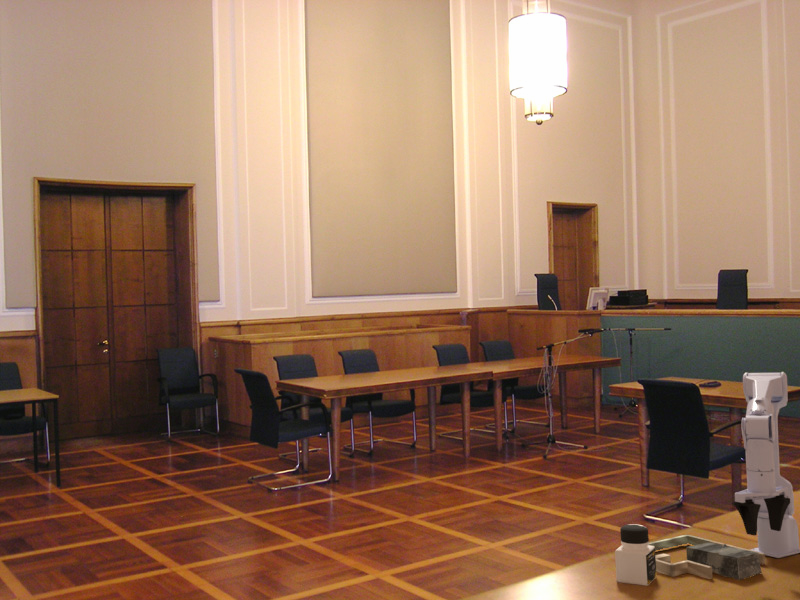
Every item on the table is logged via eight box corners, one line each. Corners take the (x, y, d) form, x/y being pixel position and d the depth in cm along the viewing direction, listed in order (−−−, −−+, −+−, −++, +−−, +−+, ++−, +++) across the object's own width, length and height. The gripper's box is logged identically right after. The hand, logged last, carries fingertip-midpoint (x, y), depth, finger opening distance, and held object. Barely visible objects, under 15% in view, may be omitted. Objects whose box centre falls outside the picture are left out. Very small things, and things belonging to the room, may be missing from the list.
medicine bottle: (648, 586, 179) (645, 531, 180) (616, 582, 183) (613, 528, 183) (656, 577, 185) (654, 523, 186) (625, 573, 189) (623, 521, 189)
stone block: (712, 560, 198) (711, 538, 198) (765, 575, 185) (764, 551, 185) (686, 567, 193) (685, 544, 193) (738, 582, 181) (737, 557, 181)
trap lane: (687, 544, 212) (687, 534, 212) (765, 564, 192) (764, 553, 192) (618, 559, 200) (617, 549, 200) (693, 583, 180) (692, 571, 180)
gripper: (752, 475, 174) (755, 539, 174) (798, 469, 181) (802, 531, 180) (725, 471, 181) (728, 533, 180) (771, 465, 187) (774, 525, 186)
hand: (763, 532), depth 180 cm, fingers open, 7 cm apart
